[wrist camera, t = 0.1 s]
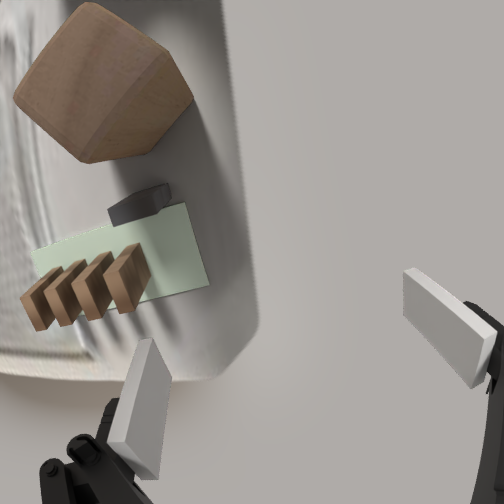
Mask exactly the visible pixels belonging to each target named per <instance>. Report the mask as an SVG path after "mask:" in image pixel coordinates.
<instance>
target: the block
mask: <svg viewBox="0 0 504 504" xmlns="http://www.w3.org/2000/svg"><path fill="white" fill-rule="evenodd" d="M193 98H194V96H193V94H192V92H191V90H190V88H189V87H188V85H187V83H186V81H185V79H184V78H183V76H182V74H181V72H180V71H179V69H178V67H177V65H176V64H175V62H174V60H173V58H172V56H171V55H170V53H169V51H168V50H166V49H165V48H163V47H162V46H161V45H159V44H158V43H156V42H155V41H154V40H152V39H151V38H149V37H148V36H146V35H145V34H144V33H142V32H141V31H139V30H138V29H136V28H135V27H133V26H132V25H130V24H129V23H127V22H126V21H124V20H123V19H121V18H120V17H118V16H116V15H115V14H113V13H112V12H110V11H109V10H107V9H105V8H104V7H102V6H100V5H99V4H97V3H90V2H85V3H83V4H81V5H80V6H79V7H78V8H77V9H76V10H75V11H74V12H73V13H72V14H71V15H70V17H69V18H68V19H67V20H66V21H65V22H64V24H63V25H62V26H61V27H60V28H59V30H58V31H57V32H56V33H55V35H54V36H53V37H52V38H51V40H50V41H49V42H48V44H47V45H46V46H45V48H44V49H43V50H42V52H41V53H40V54H39V56H38V57H37V58H36V60H35V61H34V63H33V64H32V66H31V67H30V69H29V70H28V72H27V73H26V75H25V76H24V78H23V79H22V81H21V82H20V84H19V85H18V87H17V89H16V90H15V93H14V96H13V99H14V102H15V103H16V105H17V106H18V107H19V108H20V109H21V110H22V111H23V112H24V113H26V114H27V115H28V116H29V117H30V118H31V119H32V120H33V121H34V122H35V123H37V124H38V125H39V126H40V127H41V128H42V129H43V130H44V131H46V132H47V133H48V134H49V135H50V136H51V137H52V138H53V139H55V140H56V141H57V142H58V143H59V144H60V145H61V146H63V147H64V148H65V149H66V150H67V151H68V152H69V153H71V154H72V155H73V156H74V157H75V158H76V159H77V160H79V161H80V162H83V163H87V164H92V163H97V162H102V161H108V160H114V159H119V158H125V157H132V156H138V155H145V154H147V153H148V152H150V151H151V150H152V148H153V147H154V146H155V145H156V143H157V142H158V141H159V140H160V139H161V137H162V136H163V135H164V134H165V133H166V131H167V130H168V129H169V128H170V127H171V125H172V124H173V123H174V122H175V121H176V120H177V118H178V117H179V116H180V115H181V114H182V113H183V112H184V111H185V109H186V108H187V107H188V106H189V105H190V104H191V103H192V101H193Z"/></svg>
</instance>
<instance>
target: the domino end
mask: <svg viewBox="0 0 504 504" xmlns="http://www.w3.org/2000/svg"><path fill="white" fill-rule="evenodd" d="M63 272H64V270H63V268H62V266H59V267H56V268H53V269H51V270H50V271H49V272H48V273H47V274H45V275H44V276H43V277H42V278H41V279H40V280H39V281H38V282H37V283H35V284H34V285H33V286H32V287H31V288H30V289H29V290H28V291H27V292H26V293H25V294H24V295H22V296H21V297H20V300H21V302H22V304H23V306H24V308H25V310H26V312H27V314H28V316H29V318H30V320H31V322H32V324H33V326H34V328H35V330H36V332H37V331H42V330H47V329H48V327H49V326H50V325H51V323H52V322H53V321H54V320H55V318H56V317H55V315H54V313H53V311H52V309H51V307H50V305H49V303H48V301H47V298H46V296H45V294H44V292H43V291H44V290H45V289H46V288H47V287H48V286H49V285H50V284H51V283H52V282H53V281H54V280H55V279H57V278H58V277H59V276H60V275H61V274H62V273H63Z"/></svg>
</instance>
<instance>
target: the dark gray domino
mask: <svg viewBox="0 0 504 504" xmlns="http://www.w3.org/2000/svg"><path fill="white" fill-rule="evenodd" d="M171 198H172V197H171V193H170V189H169V186H168V183H166V184H163V185H159V186H156V187H153V188H150V189H146V190H143V191H140V192H137V193H134V194H132V195H130V196H128V197H127V198H125V199H123V200H122V201H120V202H118V203H117V204H115V205H113V206H112V207H110V208H109V209H107V210H108V213H109V216H110V219H111V222H112V225H113V227H116V226H120V225H123V224H126V223H129V222H133V221H136V220H139V219H142V218H146V217H149V216H153V215H156V214H158V213H159V211H160V210H161V209H162V208H163V207H164V206H165V205H166V204H167V202H168V201H169V200H170V199H171Z"/></svg>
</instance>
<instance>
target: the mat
mask: <svg viewBox="0 0 504 504" xmlns="http://www.w3.org/2000/svg"><path fill="white" fill-rule="evenodd" d="M139 242H140V245H141V248H142V251H143V254H144V256H145V259H146V262H147V265H148V268H149V270H150V273H151V277H150V279H149V282H148V284H147V286H146V288H145V290H144V292H143V294H142V296H141V299H140V301H139V302H142V301H146V300H150V299H154V298H159V297H163V296H167V295H171V294H175V293H179V292H184V291H188V290H192V289H196V288H200V287H204V286H208V285H210V284H209V281H208V278H207V274H206V271H205V268H204V265H203V262H202V258H201V255H200V252H199V248H198V245H197V242H196V239H195V235H194V232H193V228H192V225H191V222H190V218H189V215H188V211H187V208H186V204H185V202H183V203H179V204H176V205H172V206H169V207H165V208H162V209H161V210H160V211H159V213H158V214H156V215H153V216H149V217H146V218H142V219H139V220H136V221H133V222H129V223H126V224H123V225H120V226H116V227H113V225H112V224H110V225H106V226H103V227H100V228H97V229H94V230H91V231H88V232H85V233H82V234H79V235H76V236H74V237H71V238H68V239H65V240H62V241H59V242H56V243H54V244H51V245H48V246H45V247H43V248H40V249H37V250H34V251H32V252H30V253H31V256H32V258H33V261H34V263H35V266H36V268H37V271H38V273H39V275H40V278H42V277H43V276H44V275H45V274H47V273H48V272H49V271H50V270H51V269H53V268H56V267H59V266H62V268H63V270H64V271H65V270H66V269H67V268H68V267H69V266H70V265H71V264H72V263H74V262H75V261H78V260H82V259H85V260H86V262H87V265H89V264H90V263H91V262H92V261H93V260H94V259H95V258H96V257H97V256H98V255H99V254H101V253H105V252H108V251H111V252H112V255H113V257H114V260H115V259H116V258H117V257H118V256H119V255H120V253H121V252H122V251H123V250H124V249H125V247H126V246H129V245H132V244H136V243H139ZM111 308H116V305H115V303H114V300H112V302H111V303H110V305H109V307H108V308H107V309H111ZM80 315H85V314H84V311H83V310H82V311H81V313H80V314H79V316H80Z"/></svg>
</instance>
